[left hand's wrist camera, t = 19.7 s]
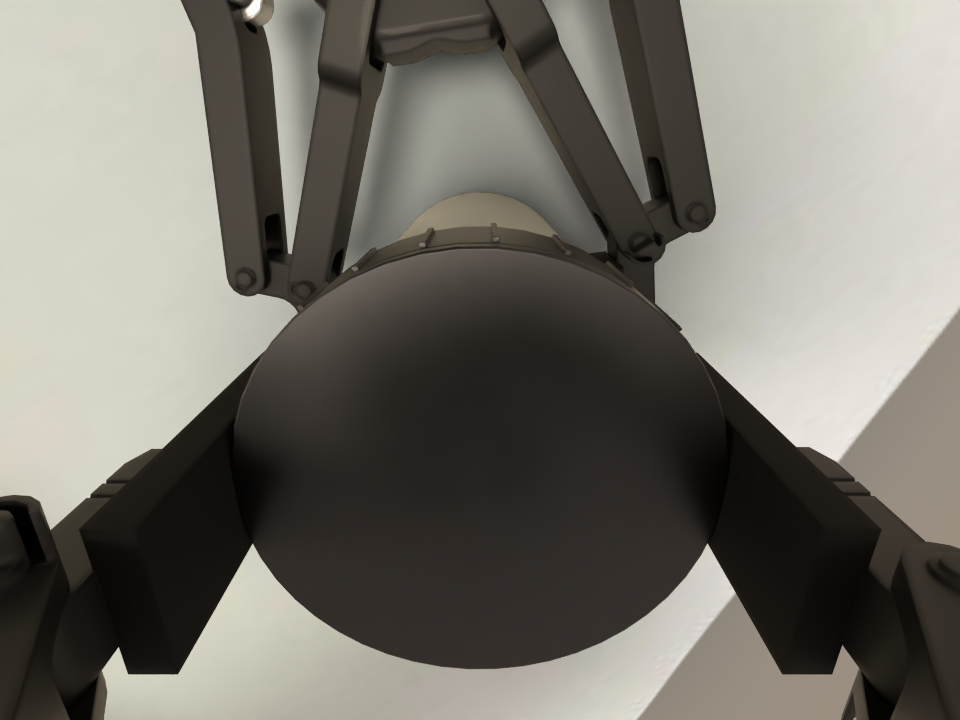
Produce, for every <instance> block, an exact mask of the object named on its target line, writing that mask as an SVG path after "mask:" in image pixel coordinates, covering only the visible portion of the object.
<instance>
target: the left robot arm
mask: <svg viewBox="0 0 960 720" xmlns="http://www.w3.org/2000/svg"><path fill="white" fill-rule="evenodd" d="M696 354H697V356H698V357H699V359H700V360H701V362H702V363H703V364H704V366H705V368H706V370H707V373H708V375H709V377H710V379H711V381H712V383H713V385H714V388H715V390H716V392H717V394H718V398H719V401H720V405H721V408H722V412H723V415H724V419H725V424H726V432H727V440H728V448H729V456H728V479H727V484H726V489H725V494H724V499H723V504H722V508H721V511H720V514H719V517H718V520H717V523H716V526H715V528H714V531H713V533H712V535H711V537H710V539H709V541H708V545H709V546H710V548H711V550H712V552H713V553H714V555H715V557H716V559H717V561H718V562H719V564H720V566H721V568H722V569H723V571H724V573H725V575H726V576H727V578H728V580H729V582H730V583H731V585H732V587H733V589H734V590H735V592H736V594H737V596H738V597H739V599H740V601H741V602H742V604H743V606H744V608H745V610H746V611H747V613H748V615H749V617H750V618H751V620H752V622H753V624H754V625H755V627H756V629H757V631H758V632H759V634H760V636H761V638H762V639H763V641H764V643H765V645H766V646H767V648H768V650H769V652H770V653H771V655H772V657H773V659H774V660H775V662H776V664H777V666H778V667H779V669H780V671H781V673H782V674H832V673H833V670H834V667H835V664H836V661H837V658H838V655H839V653H840V650H841V647H842V645H843V646H844V647H845V649H846V650H847V652H848V653H849V654H850V656H851V657H852V659H853V660H854V661H855V663H856V664H857V665H858V667H859V670H858V673H857V676H856V679H855V681H854V684H853V687H852V689H851V692H850V695H849V698H848V700H847V703H846V706H845V709H844V711H843V714H842V719H841V720H853V718H854V717H856V719H857V720H960V549H959V548H956V547H953V546H950V545H945V544H938V543H932V542H925V541H924V540H923V539H922V538H921V537H920V536H919V535H918V534H916V533H915V532H914V531H913V530H912V529H911V528H910V527H909V526H908V525H906V524H905V523H904V522H903V521H902V520H901V519H900V518H899V517H897V516H896V515H895V514H894V513H893V512H892V511H891V510H890V509H888V508H887V507H886V506H885V505H884V504H883V503H882V502H881V501H879V500H878V499H877V498H876V497H875V496H871V495H870V492H869V491H868V490H867V489H866V488H865V487H864V486H863V485H862V484H860V483H859V482H855V479H854V477H853V476H851V475H850V474H849V473H848V472H847V471H846V470H845V469H844V468H842V467H841V466H840V465H839V464H838V463H837V462H836V461H834V460H832V459H830V458H828V457H826V456H825V455H823V454H821V453H819V452H817V451H815V450H813V449H812V448H810V447H795V446H794V445H793V444H792V443H791V442H790V441H789V440H788V439H787V438H786V437H785V436H784V435H783V434H782V433H781V432H780V431H779V430H778V429H777V428H776V427H775V426H773V425H772V424H771V423H770V422H769V421H768V420H767V419H766V418H765V417H764V416H763V415H762V414H761V413H760V412H759V411H758V410H757V409H756V408H755V407H754V406H753V405H752V404H750V403H749V402H748V401H747V400H746V399H745V398H744V397H743V396H742V395H741V394H740V393H739V392H738V391H737V390H736V389H735V388H734V387H733V386H732V385H731V384H730V383H729V382H728V381H726V380H725V379H724V378H723V377H722V376H721V375H720V374H719V373H718V372H717V371H716V370H715V369H714V368H713V367H712V366H711V365H710V364H709V363H708V362H707V361H706V360H705V359H703V358H702V357H701V356H700V355H699V354H698V353H696ZM260 356H261V355H260ZM260 356H259V357H258V358H257V359H256V360H255V361H254V362H253V363H252V364H251V365H250V366H249V367H247V368H246V369H245V370H244V371H243V372H242V373H241V374H240V375H239V376H238V377H237V378H236V379H235V380H234V381H233V382H232V383H231V384H230V385H229V386H228V387H227V388H226V389H224V390H223V391H222V392H221V393H220V394H219V395H218V396H217V397H216V398H215V399H214V400H213V401H212V402H211V403H210V404H209V405H208V406H207V407H206V408H205V409H204V410H203V411H202V412H200V413H199V414H198V415H197V416H196V417H195V418H194V419H193V420H192V421H191V422H190V423H189V424H188V425H187V426H186V427H185V428H184V429H183V430H182V431H181V432H180V433H179V434H178V435H176V436H175V437H174V438H173V439H172V440H171V441H170V442H169V443H168V444H167V445H166V446H165V447H164V448H163V449H151V450H149V451H147V452H145V453H143V454H142V455H140V456H138V457H136V458H134V459H132V460H131V461H129V462H127V463H125V464H124V465H123V466H122V467H121V468H120V469H118V470H117V471H116V472H115V473H114V474H113V475H112V476H111V477H109V478H108V479H107V480H106V484H102V485H101V486H99V487H98V488H97V489H96V490H95V491H94V492H93V493H92V494H91V497H90V498H86V499H85V500H84V501H83V502H82V503H81V504H79V505H78V506H77V507H76V508H75V509H74V510H73V511H72V512H71V513H69V514H68V515H67V516H66V517H65V518H64V519H63V520H62V521H60V522H59V523H58V524H57V525H56V526H55V527H54V528H53V529H52V530H50V528H49V525H48V523H47V520H46V517H45V515H44V512H43V509H42V506H41V504H40V502H39V501H38V500H36V499H34V498H33V497H31V496H20V495H10V496H3V497H0V720H104V713H105V705H106V698H107V688H106V682H105V679H104V676H103V673H102V669H103V668H104V666H105V665H106V664H107V662H108V661H109V659H110V658H111V657H112V655H113V654H114V652H115V651H116V650H117V648H118V647H119V649H120V651H121V654H122V657H123V660H124V663H125V666H126V669H127V672H128V674H178V673H179V672H180V670H181V668H182V666H183V665H184V663H185V661H186V659H187V658H188V656H189V654H190V652H191V651H192V649H193V647H194V645H195V643H196V642H197V640H198V638H199V636H200V635H201V633H202V631H203V629H204V628H205V626H206V624H207V622H208V621H209V619H210V617H211V615H212V614H213V612H214V610H215V608H216V607H217V605H218V603H219V601H220V600H221V598H222V596H223V594H224V593H225V591H226V589H227V587H228V586H229V584H230V582H231V580H232V579H233V577H234V575H235V573H236V572H237V570H238V568H239V566H240V565H241V563H242V561H243V559H244V558H245V556H246V554H247V552H248V551H249V549H250V547H251V545H252V544H253V543H252V541H251V539H250V537H249V535H248V533H247V530H246V527H245V525H244V522H243V519H242V517H241V514H240V511H239V507H238V502H237V497H236V492H235V487H234V482H233V476H232V458H231V451H232V441H233V431H234V424H235V420H236V416H237V412H238V409H239V405H240V401H241V397H242V395H243V392H244V390H245V388H246V386H247V383H248V381H249V379H250V377H251V374H252V372H253V370H254V368H255V367H256V365H257V363H258V362H259V360H260V359H259V358H260Z"/></svg>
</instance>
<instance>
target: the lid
mask: <svg viewBox="0 0 960 720" xmlns="http://www.w3.org/2000/svg"><path fill="white" fill-rule="evenodd" d="M633 285H634V283H633V282H632V281H631V280H630V279H629V278H628V277H626V276H625V275H624V274H623V273H622V272H621V271H620V270H619V269H618V268H616V267H615V266H614V265H613V264H612V263H611V262H609V261H607V262H606V264H605V263H603V262H601V261H600V260H598V259H596V258H595V257H593V256H591V255H590V254H588V253H586V252H585V251H583V250H581V249H579V248H576V247H574V246H572V245H569V244H567V243H564V242H563V241H562V240H561V239H560V237H559V236H558V235H555V234H553V235H552V237H548V236H544V235H541V234H537V233H533V232H529V231H526V230H519V229H511V228H503V227H497V223H491V226H468V227H456V228H449V229H442V230H435V231H434V228H433V227H431V228H428V229H427V231H426V232H425V233H423V234H420V235H416V236H412V237H409V238H405V239H402V240H400V241H398V242H395V243H393V244H391V245H389V246H386V247H384V248H382V249H379V250H376V249H375V248H372V249H371V250H369V251H368V252H367V253H366V254H365V255H364V256H363V257H362V258H361V259H360V260H359V261H358V262H357V263H356V264H354V265H352V266H351V267H350V268H348V269H347V270H346V271H345V272H344V273H342V274H341V275H340V276H339V277H338V278H336V279H335V280H334V281H333V282H332V283H330V284H329V283H328V282H327V281H326V282H325V283H324V284H323V285H322V286H320V287H319V288H318V289H317V290H316V291H315V292H314V293H313V294H311V295H310V296H309V297H308V298H307V299H306V300H305V301H304V302H302V303H301V304H300V305H299V306H298V307H297V309H298V310H299V311H300V312H299V313H298V314H297V315H295V316H294V317H293V318H292V319H291V321H290V322H289V323H288V324H287V325H286V326H285V327H284V328H283V330H282V331H281V332H280V333H279V334H278V335H277V336H276V337H275V339H274V340H273V341H272V342H271V343H270V345H269V346H268V348H267V349H266V350H265V351H264V352H263V353H262V354H261V356H260V358H259V359H260V360H259V362H258V363H257V365H256V367H255V368H254V370H253V372H252V374H251V377H250V379H249V381H248V383H247V386H246V388H245V390H244V392H243V395H242V397H241V401H240V405H239V409H238V412H237V416H236V420H235V424H234V431H233V441H232V451H231V458H232V476H233V482H234V487H235V492H236V497H237V502H238V507H239V511H240V514H241V517H242V519H243V522H244V525H245V527H246V530H247V533H248V535H249V537H250V539H251V541H252V543H253V544H254V546H255V548H256V550H257V552H258V554H259V555H260V557H261V559H262V560H263V562H264V563H265V564H266V566H267V567H268V568H269V570H270V571H271V573H272V574H273V575H274V577H275V578H276V579H277V581H278V582H279V583H280V584H281V585H282V586H283V587H284V588H285V589H286V590H287V591H288V592H289V593H290V594H291V595H292V597H293V598H294V599H295V600H297V601H298V602H299V603H300V604H301V605H303V606H304V607H305V608H306V609H307V610H308V611H310V612H311V613H312V614H313V615H314V616H316V617H317V618H319V619H320V620H322V621H323V622H325V623H326V624H328V625H329V626H331V627H332V628H334V629H335V630H337V631H338V632H340V633H342V634H344V635H346V636H348V637H350V638H352V639H354V640H355V641H357V642H359V643H361V644H363V645H366V646H368V647H371V648H374V649H376V650H379V651H381V652H384V653H386V654H389V655H393V656H396V657H400V658H403V659H407V660H410V661H414V662H419V663H424V664H430V665H435V666H440V667H451V668H463V669H499V668H509V667H519V666H526V665H531V664H536V663H541V662H546V661H551V660H554V659H557V658H561V657H564V656H567V655H571V654H574V653H577V652H579V651H582V650H584V649H587V648H589V647H592V646H594V645H597V644H599V643H601V642H603V641H605V640H607V639H609V638H611V637H612V636H614V635H616V634H618V633H620V632H622V631H624V630H625V629H627V628H628V627H630V626H631V625H633V624H634V623H636V622H637V621H639V620H640V619H641V618H643V617H644V616H646V615H647V614H648V613H650V612H651V611H652V610H653V609H654V608H655V607H657V606H658V605H659V604H660V603H661V602H662V601H663V600H665V599H666V598H667V597H668V596H669V595H670V594H671V593H672V592H673V590H674V589H675V588H676V587H677V586H678V585H679V584H680V583H681V582H682V581H683V579H684V578H685V577H686V576H687V574H688V573H689V572H690V570H691V569H692V567H693V566H694V565H695V563H696V562H697V560H698V559H699V557H700V556H701V554H702V552H703V551H704V549H705V547H706V545H707V543H708V541H709V539H710V537H711V535H712V533H713V531H714V528H715V526H716V523H717V520H718V517H719V514H720V511H721V508H722V504H723V499H724V494H725V489H726V484H727V479H728V456H729V448H728V440H727V432H726V424H725V419H724V415H723V412H722V408H721V405H720V401H719V398H718V394H717V392H716V390H715V388H714V385H713V383H712V381H711V379H710V377H709V375H708V373H707V370H706V368H705V366H704V364H703V363H702V362H701V360H700V359H699V357H698V356H697V354H696V353H695V351H694V350H693V348H692V347H691V345H690V344H689V342H688V341H687V339H686V338H685V337H684V336H683V335H682V334H681V333H680V332H679V331H681V330H682V328H681V327H680V326H679V325H678V324H677V323H676V322H675V321H674V320H673V319H672V318H671V317H669V316H668V315H667V314H666V313H665V312H664V311H663V310H662V309H661V308H660V307H658V306H657V305H656V304H655V303H654V302H653V301H652V300H651V299H650V300H649V301H648V300H647V299H646V298H645V297H644V296H643V295H642V294H641V293H640V292H639V291H638V290H636V289H635V288H634V287H633Z"/></svg>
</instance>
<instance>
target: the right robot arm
mask: <svg viewBox="0 0 960 720" xmlns="http://www.w3.org/2000/svg"><path fill="white" fill-rule="evenodd" d="M314 1H315V2H316V3H317V4H318V5H319V6H320V8H321V9H322V10H323V11H324V12H325V13H326V15H325V21H324V27H323V34H322V40H321V46H320V52H319V59H318V74H319V79H320V84H319V92H318V98H317V104H316V110H315V116H314V122H313V128H312V134H311V140H310V146H309V153H308V159H307V165H306V171H305V177H304V183H303V189H302V195H301V201H300V207H299V214H298V220H297V226H296V232H295V238H294V244H293V250H292V254H288V248H287V236H286V225H285V213H284V201H283V190H282V178H281V166H280V155H279V143H278V131H277V120H276V108H275V96H274V85H273V73H272V64H271V56H270V50H269V46H268V41H267V37H266V33H265V31H264V28H263V25H264V24H266V23H268V21H269V20H270V19H271V17H272V15H273V12H274V0H181V2H182V4H183V6H184V9H185V11H186V13H187V15H188V18H189V20H190V22H191V25H192V27H193V29H194V31H195V35H196V42H197V50H198V58H199V65H200V73H201V81H202V88H203V96H204V104H205V112H206V119H207V127H208V135H209V142H210V150H211V158H212V165H213V173H214V181H215V189H216V196H217V204H218V212H219V219H220V227H221V235H222V242H223V250H224V258H225V266H226V273H227V279H228V282H229V285H230V286H231V287H232V289H233V290H234V291H236V292H237V293H239V294H240V295H244V296H254V295H256V294H263V295H268V296H273V297H278V298H281V299H284V300H286V301H288V302H289V303H291V304H292V305H293V306H294V307H295V309H296V310H297V312H298V313H299V312H300V311H299V310H298V309H297V307H298V306H299V305H300V304H301V303H302V302H304V301H305V300H306V299H307V298H308V297H309V296H310V295H311V294H313V293H314V292H315V291H316V290H317V289H318V288H319V287H320V286H322V285H323V284H324V283H325V282H326V281H327V282H328V283H329V284H330V283H332V282H333V281H334V280H335V279H336V278H338V277H339V276H340V275H341V274H342V270H343V265H344V260H345V255H346V251H347V246H348V241H349V236H350V231H351V226H352V221H353V216H354V211H355V206H356V201H357V196H358V191H359V186H360V181H361V176H362V171H363V166H364V161H365V156H366V151H367V146H368V141H369V136H370V131H371V126H372V121H373V116H374V111H375V106H376V102H377V100H378V98H379V96H380V93H381V90H382V86H383V81H384V76H385V71H386V66H387V62H388V63H390V64H391V65H392V66H399V65H405V64H411V63H417V62H419V61H421V60H423V59H425V58H427V57H429V56H431V55H433V54H435V53H437V52H440V51H444V52H452V53H459V54H472V53H478V52H484V51H490V46H492V45H494V44H496V45H497V47H498V49H499V50H500V52H501V54H502V56H503V58H504V59H505V61H506V63H507V65H508V67H509V68H510V70H511V71H512V73H513V74H514V76H515V77H516V78H517V80H518V82H519V83H520V85H521V87H522V89H523V91H524V92H525V94H526V96H527V98H528V100H529V101H530V103H531V105H532V107H533V109H534V111H535V112H536V114H537V116H538V118H539V120H540V121H541V123H542V125H543V127H544V129H545V131H546V132H547V134H548V136H549V138H550V140H551V141H552V143H553V145H554V147H555V149H556V151H557V152H558V154H559V156H560V158H561V160H562V161H563V163H564V165H565V167H566V169H567V171H568V172H569V174H570V176H571V178H572V180H573V181H574V183H575V185H576V187H577V189H578V191H579V192H580V194H581V196H582V198H583V200H584V201H585V203H586V205H587V207H588V209H589V211H590V212H591V214H592V216H593V218H594V220H595V221H596V223H597V225H598V227H599V229H600V231H601V232H602V234H603V236H604V238H605V240H606V241H607V246H608V253H607V252H606V251H604V252H597V253H590V255H591V256H593V257H595V258H596V259H598V260H600V261H601V262H603V263H605V264H606V262H607V261H609V262H611V263H612V264H613V265H614V266H615V267H616V268H618V269H619V270H620V271H621V272H622V273H623V274H624V275H625V276H626V277H628V278H629V279H630V280H631V281H632V282H633V283H634V285H633V287H634V288H635V289H636V290H638V291H639V292H640V293H641V294H642V295H643V296H644V297H645V298H646V299H647V300H648V301H649V300H650V299H651V300H652V301H653V302H654V303H655V282H654V263H655V262H657V261H658V260H659V259H660V258H661V257H662V255H663V253H664V251H665V246H666V244H667V243H669V242H671V241H673V240H675V239H677V238H678V237H680V236H682V235H684V234H686V233H688V232H692V233H694V232H700V231H702V230H704V229H706V228H707V227H708V226H709V225H710V224H711V223H712V222H713V219H714V217H715V214H716V205H715V199H714V194H713V188H712V182H711V177H710V171H709V165H708V160H707V154H706V148H705V142H704V137H703V131H702V125H701V120H700V114H699V108H698V102H697V97H696V91H695V85H694V80H693V74H692V68H691V63H690V57H689V51H688V45H687V40H686V34H685V28H684V23H683V17H682V11H681V5H680V0H609V3H610V9H611V14H612V19H613V24H614V28H615V33H616V37H617V42H618V47H619V51H620V56H621V60H622V65H623V70H624V74H625V79H626V83H627V88H628V93H629V97H630V102H631V106H632V111H633V116H634V120H635V125H636V130H637V134H638V139H639V143H640V148H641V153H642V157H643V162H644V166H645V171H646V176H647V180H648V185H649V189H650V194H651V199H652V200H650V201H648V202H646V203H645V204H643V205H642V203H641V201H640V199H639V197H638V195H637V193H636V191H635V189H634V187H633V185H632V183H631V181H630V179H629V178H628V176H627V174H626V172H625V170H624V168H623V166H622V164H621V162H620V160H619V158H618V156H617V154H616V152H615V150H614V148H613V146H612V144H611V142H610V140H609V139H608V137H607V135H606V133H605V131H604V129H603V127H602V125H601V123H600V121H599V119H598V117H597V115H596V113H595V111H594V109H593V107H592V105H591V103H590V101H589V99H588V98H587V96H586V94H585V92H584V90H583V88H582V86H581V84H580V82H579V80H578V78H577V76H576V74H575V72H574V70H573V68H572V66H571V64H570V62H569V60H568V58H567V57H566V55H565V53H564V51H563V49H562V47H561V44H560V42H559V38H558V34H557V31H556V28H555V25H554V23H553V21H552V19H551V17H550V15H549V13H548V11H547V9H546V7H545V5H544V3H543V1H542V0H314Z"/></svg>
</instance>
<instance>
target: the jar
mask: <svg viewBox="0 0 960 720" xmlns="http://www.w3.org/2000/svg"><path fill="white" fill-rule="evenodd" d="M491 223H497V227H503V228H511V229H519V230H526V231H529V232H533V233H537V234H541V235H544V236H548V237H552V235H553V234H555V235H558V234H557V233H556V232H555V231H554V230H553V229H552V227H551V226H550V225H549V224H548V223H547V222H546V221H545V220H544V219H543V218H542V217H541V216H540V215H539V214H538V213H537V212H536V211H534V210H533V209H531V208H530V207H529V206H527V205H525V204H523V203H522V202H520V201H518V200H516V199H513V198H510V197H507V196H504V195H500V194H495V193H485V192H476V193H466V194H461V195H456V196H453V197H450V198H447V199H445V200H443V201H441V202H439V203H437V204H435V205H433V206H432V207H430V208H429V209H428V210H426V211H425V212H423V213H422V214H421V215H420V216H419V217H418V218H417V219H416V220H415V221H414V222H413V223H412V224H411V226H410V227H409V228H408V229H407V230H406V231H405V232H404V234H403V235H402V236H401V237H400V238H399V239H398V241H400V240H402V239H405V238H409V237H412V236H416V235H420V234H423V233H425V232H426V231H427V229H428V228H431V227H433V228H434V231H435V230H442V229H449V228H456V227H468V226H491ZM560 239H561V238H560ZM561 240H562V239H561ZM398 241H397V242H398ZM562 241H563V240H562ZM563 242H564V241H563Z"/></svg>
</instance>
